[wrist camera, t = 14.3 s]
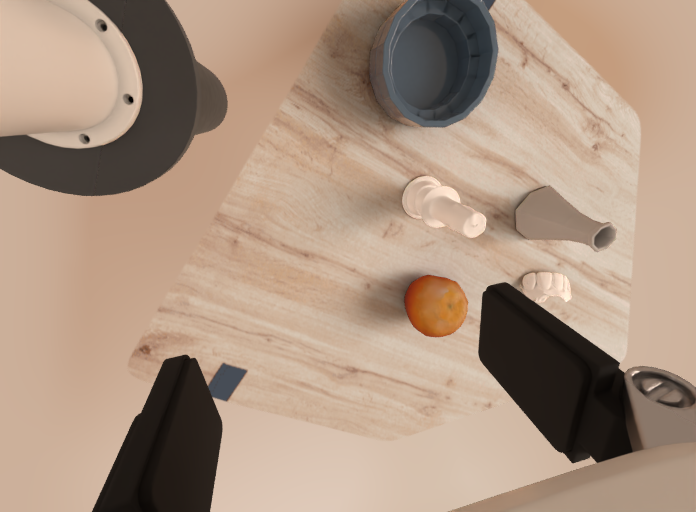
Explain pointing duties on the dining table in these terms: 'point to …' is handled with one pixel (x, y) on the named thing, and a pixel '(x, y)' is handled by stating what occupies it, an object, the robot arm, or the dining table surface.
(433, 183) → the candle
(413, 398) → the dining table surface
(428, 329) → the fruit
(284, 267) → the dining table surface
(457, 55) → the bowl
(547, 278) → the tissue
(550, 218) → the flask
